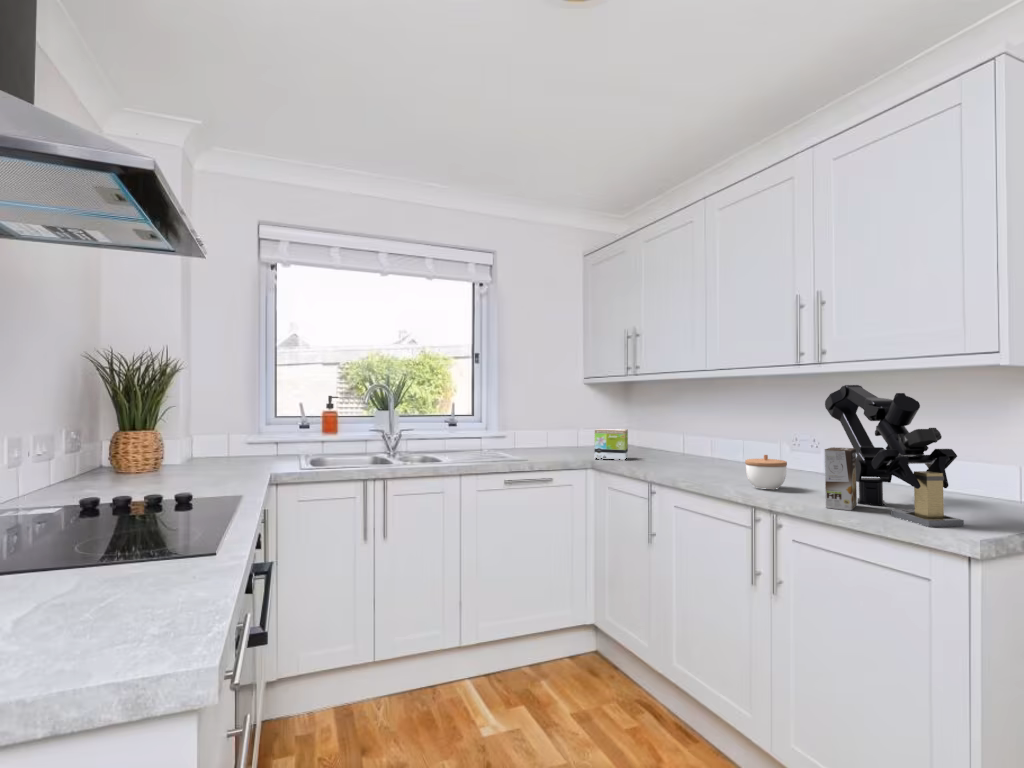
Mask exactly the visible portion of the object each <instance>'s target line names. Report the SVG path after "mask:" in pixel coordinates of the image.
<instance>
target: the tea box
mask: <svg viewBox="0 0 1024 768" xmlns="http://www.w3.org/2000/svg"><path fill="white" fill-rule="evenodd" d="M628 433H629V430H628V429H627V428H597V429H596V428H595V429H594V449H593V450H594V451H593V453H594V458H595V457H601V458H611V459H626V458H627V459H628V453H629V452H628V451H629V450H628V449H629V447H628V445H629V440H628V439H629V434H628ZM627 459H626V460H627Z"/></svg>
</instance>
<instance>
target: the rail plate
mask: <svg viewBox="0 0 1024 768" xmlns="http://www.w3.org/2000/svg"><path fill="white" fill-rule="evenodd" d="M890 516H891V517H894V518H896V517H897V518H896V519H899V518H901V519H900V520H903V519H904V521H906V520H908V521H907V522H910V521H912V522H911V523H913V522H915V523H914V524H916V523H919V524H918V525H920V524H922V525H921V526H923V525H925V527H927V526H928V528H951V527H953V526H965V525H964V524H965V522H964V521H965V520H964V519H961V518H957V517H954V516H949V515H945V514H944V519H924V518H921V517H917V516H915V509H891V511H890ZM938 526H939V527H938ZM940 526H941V527H940Z"/></svg>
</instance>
